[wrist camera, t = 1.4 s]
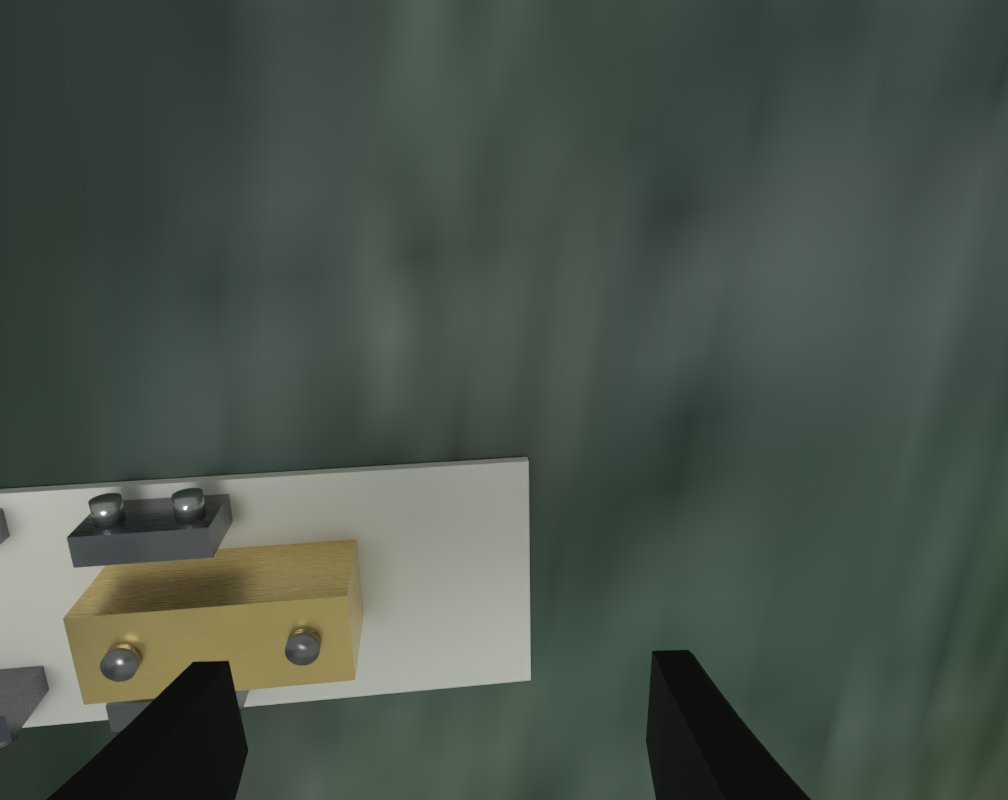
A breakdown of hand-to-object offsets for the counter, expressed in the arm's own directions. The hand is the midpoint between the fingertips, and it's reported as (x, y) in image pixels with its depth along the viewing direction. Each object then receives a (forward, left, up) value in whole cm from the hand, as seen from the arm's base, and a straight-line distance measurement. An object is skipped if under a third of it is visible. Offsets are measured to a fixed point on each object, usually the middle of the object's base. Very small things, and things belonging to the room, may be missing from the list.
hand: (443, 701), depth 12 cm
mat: (-5, +8, -13) cm, 16 cm away
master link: (-5, +7, -12) cm, 15 cm away
